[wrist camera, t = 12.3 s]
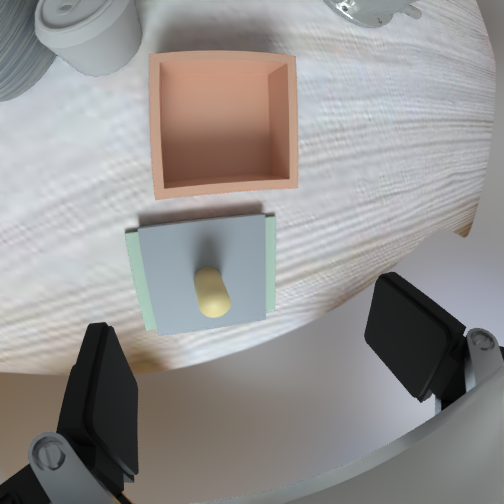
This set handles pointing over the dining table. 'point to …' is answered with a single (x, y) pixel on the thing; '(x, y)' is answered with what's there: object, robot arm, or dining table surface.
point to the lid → (205, 272)
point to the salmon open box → (222, 122)
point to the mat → (142, 286)
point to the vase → (20, 49)
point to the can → (90, 33)
